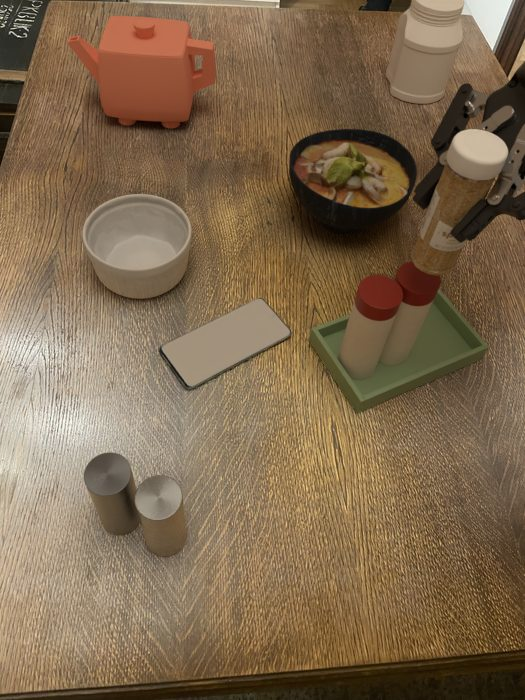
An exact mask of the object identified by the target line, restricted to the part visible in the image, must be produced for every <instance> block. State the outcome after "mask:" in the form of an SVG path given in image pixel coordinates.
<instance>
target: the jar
mask: <svg viewBox="0 0 525 700" xmlns="http://www.w3.org/2000/svg"><path fill="white" fill-rule="evenodd" d="M464 6H465V0H411V2H410V5H409V8H408V9H407V10H405V11H404V12H403V13H401V15H400V16H399V17H398V21H397V26H396V31H395V35H394V40H393V43H392V48H391V52H390V56H389V60H388V64H387V67H386V71H385V77H386V79H387V81H388V83H389V85H390V86H389V94H390V95H391V96H392V97H394V98H396V99H398V100H400V101H402V102H405V103H409V104H415V105H426V104H428V105H429V104H434V103H436V102H438V101H440V100H442V99H443V98H444V96H445V94H446V89H447V87H448V83H449V80H450V77H451V74H452V71H453V69H454V65H455V61H456V58H457V56H458V53H459V49H460V48H461V45H462V42H463V34H464V30H463V25H462V20H461V16H462V13H463V10H464Z"/></svg>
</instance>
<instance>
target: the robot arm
mask: <svg viewBox="0 0 525 700" xmlns="http://www.w3.org/2000/svg"><path fill="white" fill-rule="evenodd" d="M481 111H483V115H482V120H481V123H480V124H478V125H477V126H476V127H474V128H473V129H478V130H484V131H487V132H490V133H492V134H494V135H496V136H498V137H499V138H500V139H502V140H503V141H504V143H505V144H506V146H507V148H508V156H507V159H506V161H505V163H504V166H503V168H502V170H501V172H500V173H499V175H497V177H496V179H495V181H494V183H493V184H492V186H491V188H490V190H489V192H488V195H487V197H486V199H485V201H483V200H482V199H481V200H480V201H479V202H478V203H477V204H476V205H475V206H474V207H473V208H472V209H471V210H470V211H469V212H468V213H467V214H466V215H465V216H464V217H463V218H462V219H461V220H460V221H459V223H458V224H457V225H456V226H455V227H454V228H453V229H452V230H451V232H450V234H451V235H452V236H453V237H454V238H455V239H456V240H457V241H458V242H460V243H462V242H464V241H465V240H466V239H467V242H471V241H473V240H475V239H476V238H477V237H478V236H479V235H480V234H481V233H482V232H483V231H484V230H485V229H486V228H487V227H488V226H489V225H490V224H491V223H492V222H493V221H494V220H495V219H496V218H497V217H498V216H501V215H507V216H509V217H513V218H515V219H516V220H517V221H525V190H524V191H523V192H521V193H519V194H517V193H518V192H519V191H520V190H522V188H523V187H524V184H525V60H524V61H523V62H522V64H520V65H519V67H518V68H517V69H516V70H515V72H514V74H513V75H512V77H511V78H510V79H509V80H508V82H507V83H506V84H504V85H503V86H502V87H500V88H498V89H496V90H494V91H492V92H491V93H486V92H483V91H478V90H475V89H474V88H473V86H472V84H471V83H468V82H466V83H462V84H461V85H460V86H459V88H458V89H457V91H456V93H455V95H454V97H453V99H452V101H451V103H449V107H448V108H447V110H446V112H445V113H444V115H443V117H442V120H441V121H440V123H439V125H438V127H437V129H436V131H435V133H434V134H433V136H432V138H431V140H430V145H431V147H432V148H433V150H434V152H435V154H436V156H437V162H436V164H434V166H433V167H432V168H431V169H430V170H429V171H428V173H427V174H426V175H425V176H424V177H423V178H422V179H421V180H420V181H419V183H418V184H417V185H415V188H414V189H413V193H414V195H413V197H412V201H413V202H414V203H415V204H416V205H417V206H419V207H420V209H422V210H425V209H428V207H429V205H430V202H431V199H432V197H433V194H434V191H435V189H436V186H437V184H438V182H439V180H440V177H441V175H442V172H443V170H444V166H445V164H446V156H447V153H448V150H449V147H450V145H451V142H452V140H453V138H454V137H455V135H456V134H458V133H459V132H461V131H464V130H466V127H467V126H468V124H469V122H470V120H471V119H475V118H476V117H477V116H478V114H479V113H480V112H481Z"/></svg>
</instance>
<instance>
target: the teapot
mask: <svg viewBox="0 0 525 700" xmlns="http://www.w3.org/2000/svg"><path fill="white" fill-rule="evenodd" d="M67 45H68V46H69V47H70V49H71V50H72V51H73V53H74V54H75V55H76V56H77V58H78V59H79V60H80V62H81V63H82V64H83V66H84V67H85V68H86V69H87V71H88V72H89V73H90V74H91V76H92V77H93V78H94V80H95V81H96V82H97V84H98V91H99V98H100V104H101V107H102V109H103V112H104V114H105V116H107V117H111V118H118V123H119V124H120V125H122V126H132V125H134V124H135V123H137V121H142V122H143V121H144V122H161V125H162V126H163V128H165V129H176V128H178V127H179V126H180V123H182V122H183V123H184V122H187V121H188V120H189V119H190V115H191V111H192V106H193V101H194V95H195V92H198V91H200V90H203V89H205V88H207V87H210V86H212V85H215V84H216V80H217V67H216V66H217V65H216V53H215V42H214V41H207V40H202V39H196V38H193V37H192V31H191V27H190V23H189V22H187V21H186V20H185V21H184V20H179V19H171V18H170V19H169V18H160V17H149V16H133V15H132V16H131V15H111V16H110V17H109V18H108V20H107V22H106V25H105V27H104V31H103V33H102V35H101V38H100V41H99V45H98V48H97V49H96V48H95V47H94V46H92V45H91V44H90V43H88V41H86V40H85V39H84V38H82V36H81V35H75V36H68V38H67ZM196 56H202V68H199V69H197V68H196ZM196 69H197V70H196Z"/></svg>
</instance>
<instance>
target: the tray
mask: <svg viewBox="0 0 525 700" xmlns="http://www.w3.org/2000/svg"><path fill="white" fill-rule="evenodd" d="M349 317H350V313H348V314H345V315H343V316H340V317H337V318H335V319H331V320H329V321H327V322H324V323H321V324H319V325H316V326H313V327H311V329H310V333H309V337H308V342H309V345H311V347H312V348H313V350H314V351H315V353H316V355H318V356H317V357H318V358H319V359H320V361H322V363H323V365H324V367H325V368H326V370H327V371H328V372H329V374H330V375H331V377H332V378H333V380H334V382H335V383H336V385H337V386H338V388H339V389H340V391H341V392H342V394H343V395H344V397H345V398H346V400H347V401H348V402H349V404H350V406H351V408H352V409H353V410H354V412H355V413H356V414H359V413H361V412H364V411H366V410H368V409H371V408H373V407H375V406H377V405H379V404H382V403H384V402H386V401H389V400H392V399H393V398H395V397H398V396H400V395H402V394H405V393H407V392H409V391H412V390H414V389H416V388H418V387H421V386H424V385H425V384H428V383H431V382H432V381H435V380H436V379H439V378H442V377H444V376H447V375H449V374H451V373H453V372H455V371H458V370H460V369H463V368H464V367H467V366H469V365H472V364H474V363H476V362H478V361H480V360H482V359H483V358H484V356H485V355H486V353H487V351H488V350H489V348H490V346H489V345H488V344H487V342H486V341H485V340H484V338H482V337H481V335H480V334H479V333H478V332H477V331H476V330H475V328H474V327H473V326H472V325H471V323H470V322H469V321H468V320H467V319H466V318H465V316H463V314H462V313H461V312H460V311H459V309H457V308H456V306H455V305H454V304H453V302H451V300H450V299H449V298H448V297H447V295H446V294H445V293H444V292H443V291H442V290H441V289H440V288H439V290H438V292H437V294H436V296H435V298H434V301H433V303H432V305H431V307H430V309H429V312H428V314H427V316H426V318H425V320H424V322H423V325H422V327H421V329H420V331H419V333H418V336H417V338H416V340H415V342H414V344H413V347H412V349H411V351H410V353H409V355H408V358H407V359H406V360H405V361H404V362H403V363H402V364H399V365H394V366H392V365H386V364H383V363H381V362H379V361H378V363H377V366H376V368H375V371H374V373H373V374H372V375H371V376H370V377H368V378H366V379H361V380H357V379H352V378H350V377H349V375H348V374H347V372H346V371H345V369H344V368H343V366H342V365H341V363H340V362H339V360H338V359H337V358H338V354H339V351H340V348H341V344H342V341H343V337H344V334H345V330H346V327H347V324H348V320H349Z"/></svg>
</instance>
